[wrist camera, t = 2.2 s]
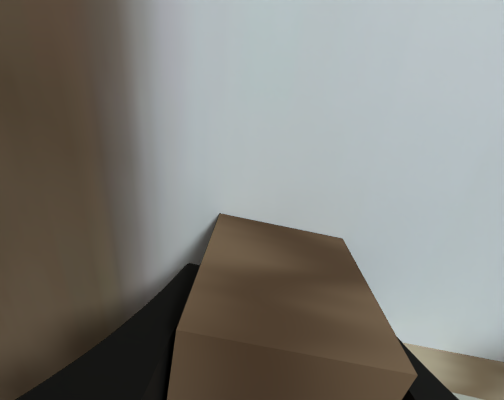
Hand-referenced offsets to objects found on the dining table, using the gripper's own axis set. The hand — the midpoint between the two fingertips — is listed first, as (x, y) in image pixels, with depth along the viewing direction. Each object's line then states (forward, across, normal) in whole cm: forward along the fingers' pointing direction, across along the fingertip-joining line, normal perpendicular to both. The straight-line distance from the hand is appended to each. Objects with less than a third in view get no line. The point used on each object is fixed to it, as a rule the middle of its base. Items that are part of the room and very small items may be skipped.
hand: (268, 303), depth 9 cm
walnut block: (+1, 0, 0) cm, 1 cm away
